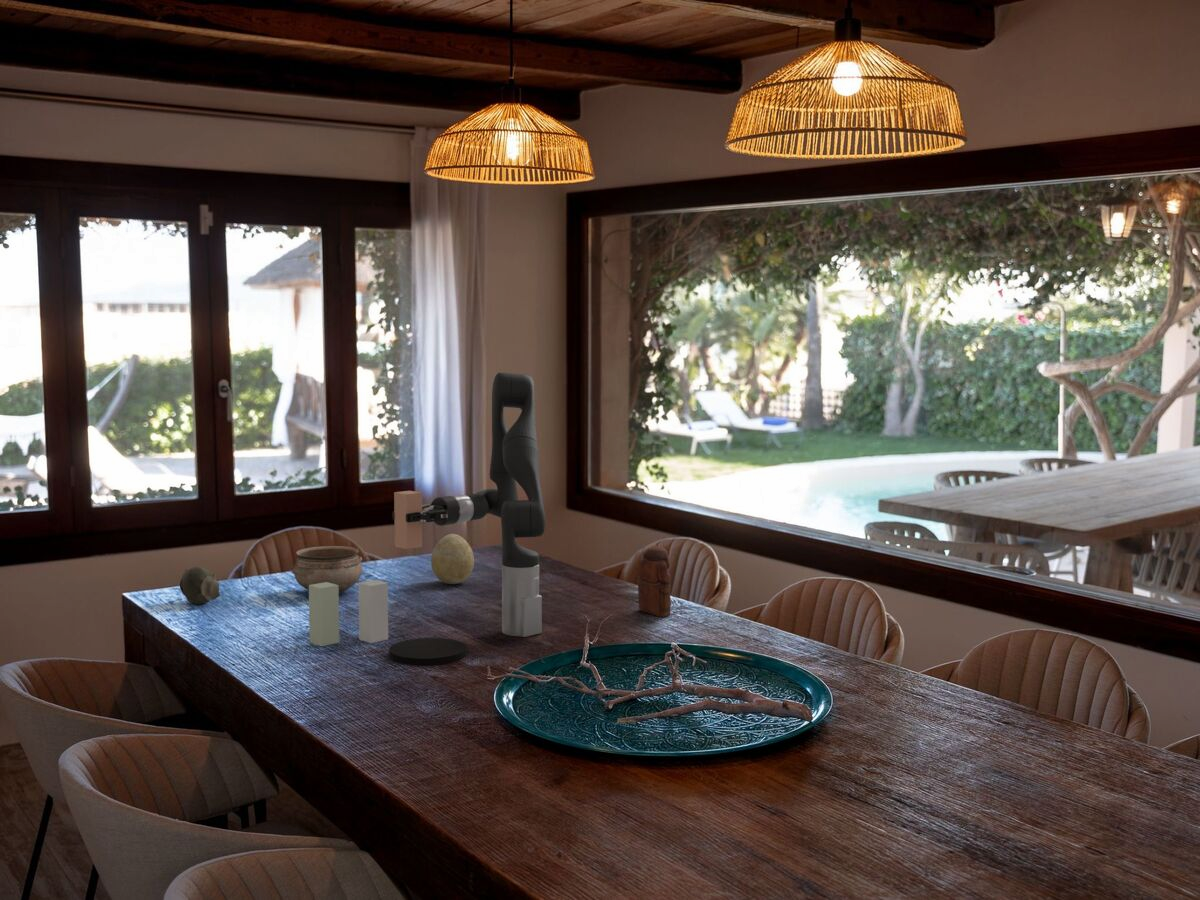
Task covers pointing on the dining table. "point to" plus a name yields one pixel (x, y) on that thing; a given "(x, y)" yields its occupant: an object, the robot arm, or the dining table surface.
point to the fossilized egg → (452, 559)
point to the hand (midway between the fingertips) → (400, 516)
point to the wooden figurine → (654, 582)
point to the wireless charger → (427, 651)
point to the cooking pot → (328, 566)
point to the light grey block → (373, 611)
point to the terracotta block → (405, 532)
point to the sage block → (324, 613)
